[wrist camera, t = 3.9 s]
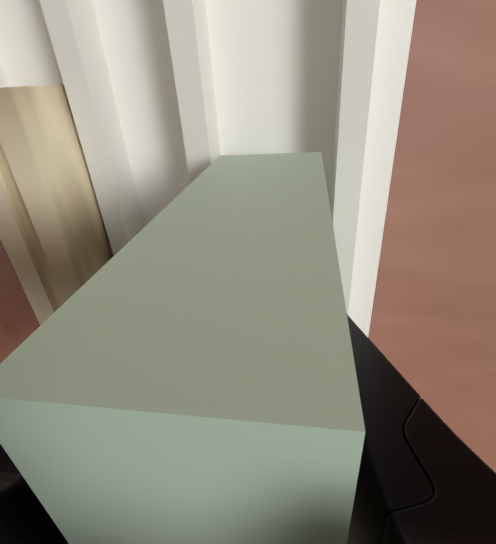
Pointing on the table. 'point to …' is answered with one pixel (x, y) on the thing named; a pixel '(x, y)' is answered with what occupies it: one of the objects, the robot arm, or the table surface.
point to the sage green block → (200, 374)
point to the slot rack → (225, 100)
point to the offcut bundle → (47, 198)
